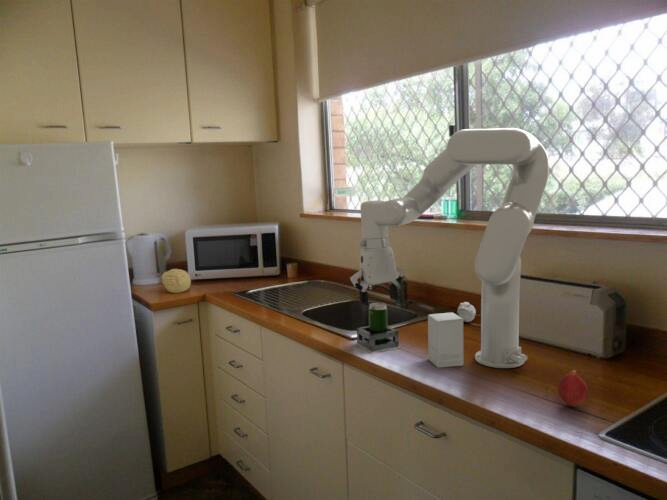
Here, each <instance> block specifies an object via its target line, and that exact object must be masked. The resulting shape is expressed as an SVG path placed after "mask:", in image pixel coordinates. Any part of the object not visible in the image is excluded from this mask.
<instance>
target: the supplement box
mask: <svg viewBox="0 0 667 500" xmlns="http://www.w3.org/2000/svg"><path fill="white" fill-rule="evenodd" d="M427 338H428V339H427V340H428V341H427V342H428V344H427V345H428V346H427V347H428V348H427V349H428V352H427V353H428V361H430V362H431V363H432V364H434V366H436V367H437V369H438V368H449V367H461V366H464V356H465V355H464V321H463V318H461V317H459V314H456V313H455V312H453V311H452V312H444V313H443V312H442V313H430V314H427Z"/></svg>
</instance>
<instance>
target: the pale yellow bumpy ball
mask: <svg viewBox="0 0 667 500" xmlns="http://www.w3.org/2000/svg"><path fill="white" fill-rule="evenodd" d="M161 282H162V284H163V285H164V287H165V289H166V290H167V291H168V292H169V293H172V294H179V293H183V292H186V291H188V290H189V289H190V287H191V283H192V280H191V276H190V274H189V273H188V272H187V270H183V269H179V268H172V269H169V270H167V271H165V272H163V274H162V275H161Z"/></svg>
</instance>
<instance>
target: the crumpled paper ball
mask: <svg viewBox="0 0 667 500" xmlns="http://www.w3.org/2000/svg"><path fill="white" fill-rule="evenodd" d="M456 313H457V315H458V316H459V317H461V318H463V323H464V322H465V323H470V322H472V321H473V320H474V319H475V317H476V313H477V310H476V308H475V307H474V305H472V304H470V302H469V301H464V302H460V304H459V306H458V307H457V312H456Z"/></svg>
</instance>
